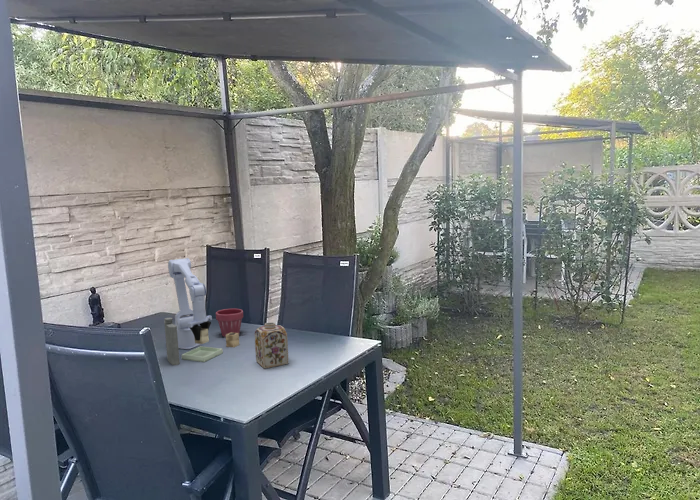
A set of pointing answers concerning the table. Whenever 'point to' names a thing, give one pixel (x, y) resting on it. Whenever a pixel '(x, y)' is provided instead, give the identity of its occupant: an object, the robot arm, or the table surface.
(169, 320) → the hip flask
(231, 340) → the oak block
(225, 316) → the plant pot
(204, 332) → the birch block
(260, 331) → the decorative jar
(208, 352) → the tray
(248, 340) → the table surface
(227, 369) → the table surface
